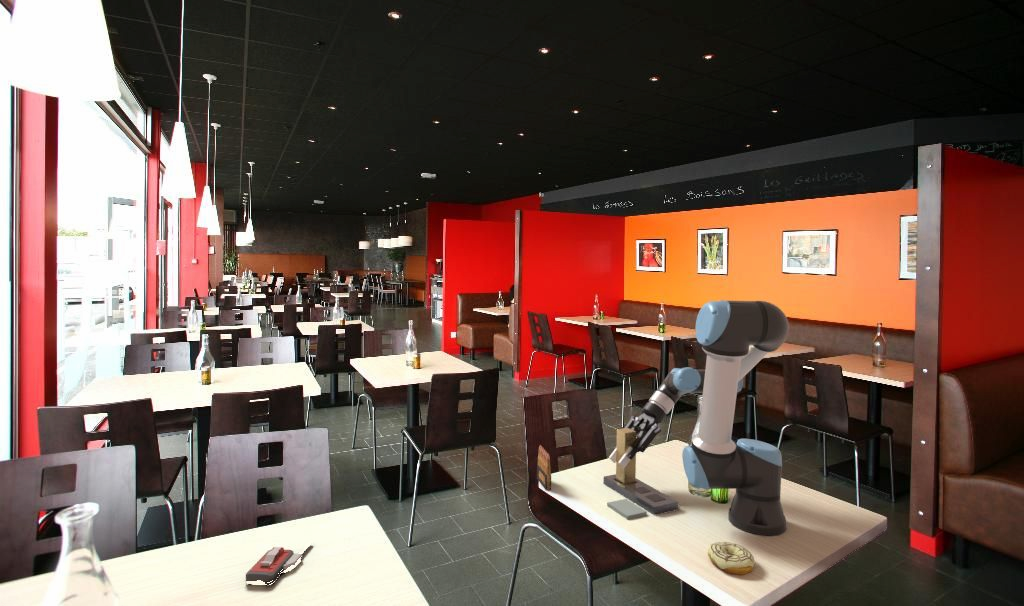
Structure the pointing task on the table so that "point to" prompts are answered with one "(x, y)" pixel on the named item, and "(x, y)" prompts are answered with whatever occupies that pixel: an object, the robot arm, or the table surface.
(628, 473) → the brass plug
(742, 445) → the robot arm
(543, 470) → the brown upright box
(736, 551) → the decorated donut
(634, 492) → the dark square socket tray
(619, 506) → the rubber mat
